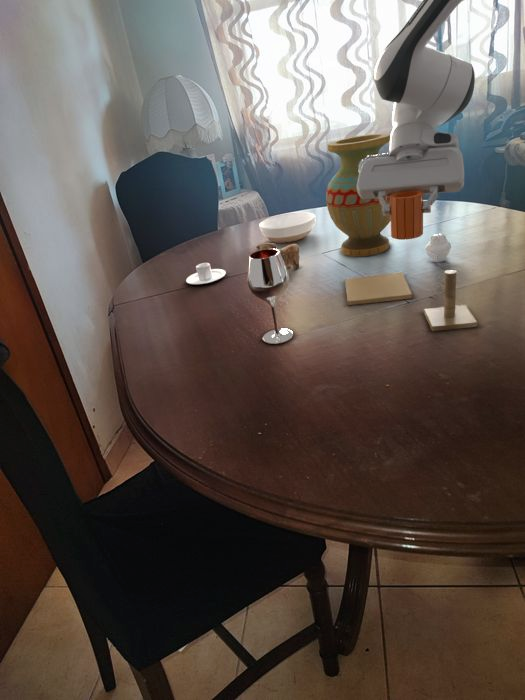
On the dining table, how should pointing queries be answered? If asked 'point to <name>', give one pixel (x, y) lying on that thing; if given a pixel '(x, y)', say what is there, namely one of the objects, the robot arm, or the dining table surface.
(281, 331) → the wineglass
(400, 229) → the orange ring
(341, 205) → the vase
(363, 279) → the cork mat
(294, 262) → the figurine
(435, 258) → the muffin
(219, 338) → the dining table surface
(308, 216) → the bowl
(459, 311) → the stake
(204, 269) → the candle holder
